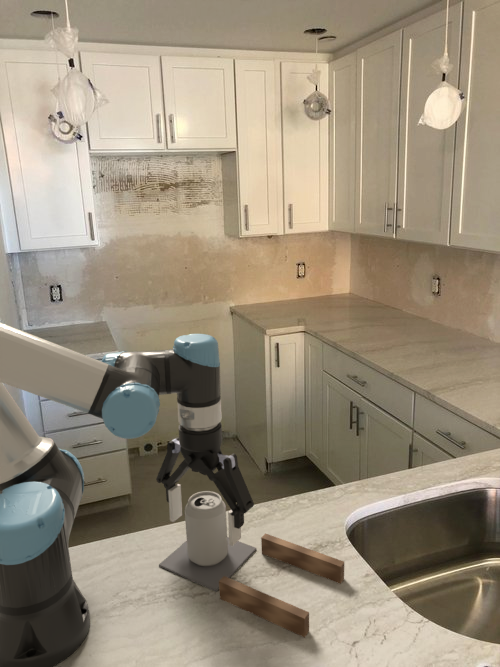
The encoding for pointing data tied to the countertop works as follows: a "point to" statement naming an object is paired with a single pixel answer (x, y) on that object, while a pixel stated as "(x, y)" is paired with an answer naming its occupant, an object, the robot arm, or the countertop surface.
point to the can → (206, 528)
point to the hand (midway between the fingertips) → (204, 529)
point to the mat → (208, 574)
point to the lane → (272, 606)
